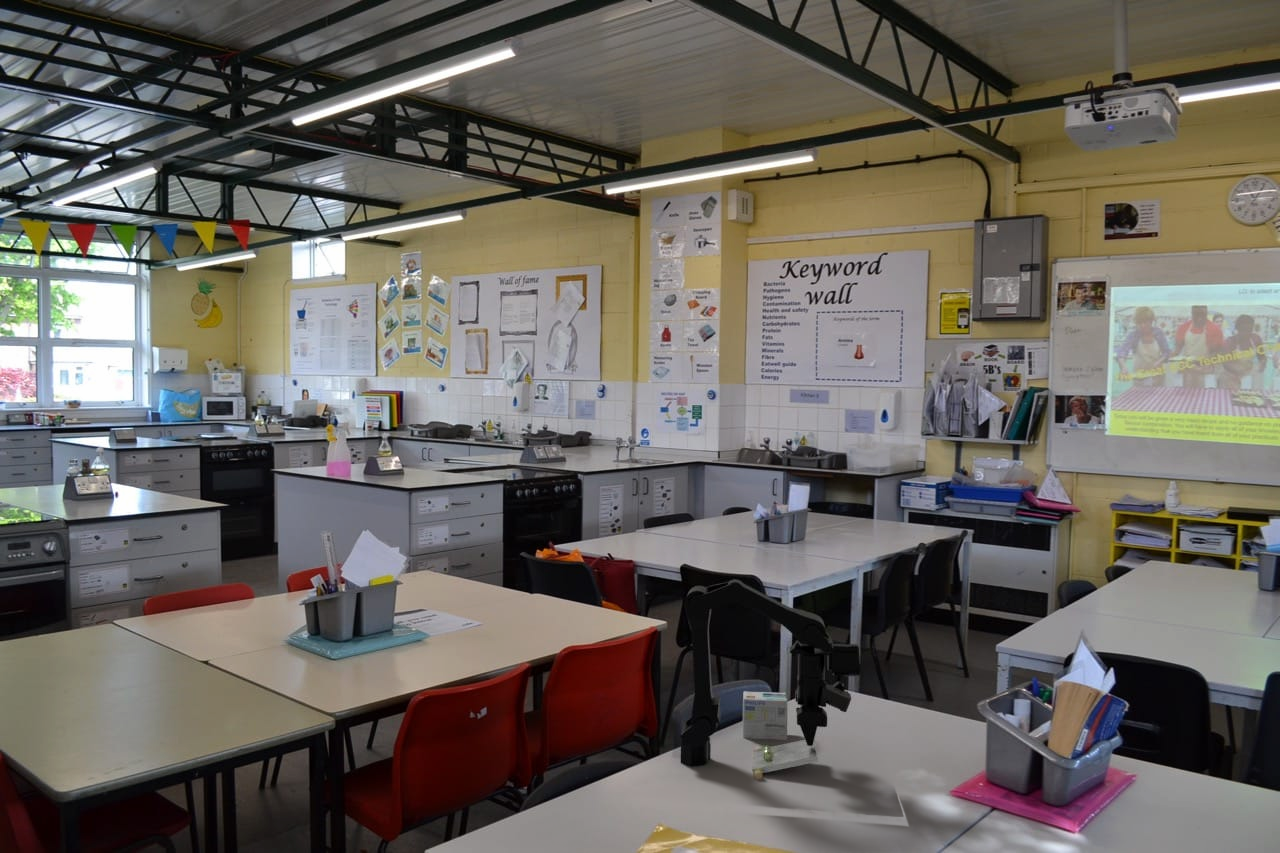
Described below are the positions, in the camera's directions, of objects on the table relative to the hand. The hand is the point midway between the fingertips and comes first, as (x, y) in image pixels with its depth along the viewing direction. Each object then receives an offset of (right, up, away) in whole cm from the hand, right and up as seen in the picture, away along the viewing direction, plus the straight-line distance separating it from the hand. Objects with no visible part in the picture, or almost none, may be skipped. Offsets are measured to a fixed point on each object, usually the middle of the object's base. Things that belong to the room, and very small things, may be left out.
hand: (809, 745), depth 198 cm
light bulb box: (-7, -6, +21) cm, 23 cm away
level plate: (-5, -3, +1) cm, 6 cm away
